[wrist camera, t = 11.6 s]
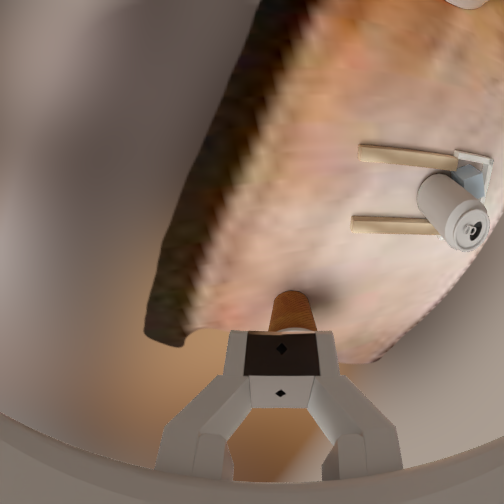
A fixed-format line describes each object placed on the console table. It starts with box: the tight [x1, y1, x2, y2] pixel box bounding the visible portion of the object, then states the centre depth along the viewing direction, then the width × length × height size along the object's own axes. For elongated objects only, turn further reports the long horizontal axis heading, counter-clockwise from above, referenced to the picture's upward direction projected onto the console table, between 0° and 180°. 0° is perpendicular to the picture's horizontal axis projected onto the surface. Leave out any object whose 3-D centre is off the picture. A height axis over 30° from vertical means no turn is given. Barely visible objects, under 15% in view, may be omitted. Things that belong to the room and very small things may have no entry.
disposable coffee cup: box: [268, 291, 317, 332], centre depth 48 cm, size 10×10×12 cm
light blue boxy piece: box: [451, 164, 485, 199], centre depth 36 cm, size 4×4×4 cm
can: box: [417, 174, 490, 252], centre depth 35 cm, size 8×8×12 cm
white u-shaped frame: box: [436, 150, 494, 240], centre depth 39 cm, size 15×8×2 cm, turn 2°
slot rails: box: [350, 145, 458, 235], centre depth 40 cm, size 13×16×2 cm
